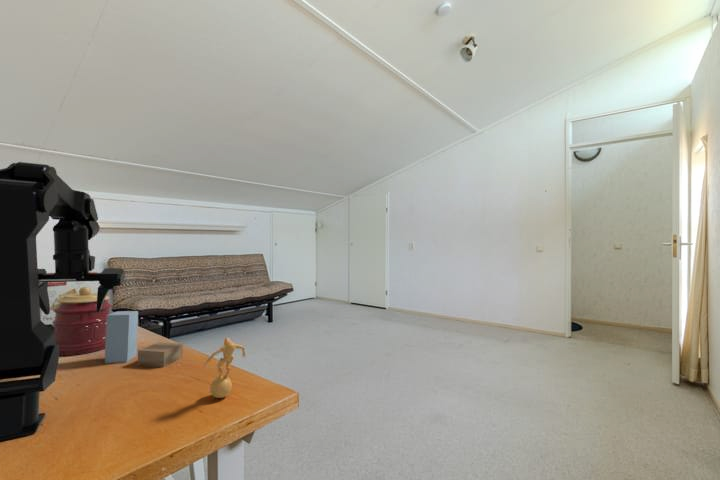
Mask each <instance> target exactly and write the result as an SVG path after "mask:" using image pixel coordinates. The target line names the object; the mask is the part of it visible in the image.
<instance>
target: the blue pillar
mask: <svg viewBox="0 0 720 480" xmlns="http://www.w3.org/2000/svg"><path fill="white" fill-rule="evenodd" d="M110 313H111V312H110ZM138 324H139V311H138V310H125V311H123V310H121V311H120V310H119V311H118V310H117V311H114V312H112V313H111V314H109V315H107V323H106V345H105V348H104V364H117V363H118V364H119V363H129V362H130V361H132V359H134V358H135V357H137V355H138V349H137V348H138V328H139V326H138Z"/></svg>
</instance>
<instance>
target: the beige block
mask: <svg viewBox="0 0 720 480" xmlns="http://www.w3.org/2000/svg"><path fill="white" fill-rule="evenodd" d="M183 354H184V343H179V342H177V343H176V342H160V341H159V342H156V343H153V344H152V345H148V346H146V347H143V348H140V349H137V366H139V367H151V368H152V367H153V368H165V367H167V366H169V365H172V364H173V363H176V362H178V361H180V360H181V359H183V358H184V356H183Z"/></svg>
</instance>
